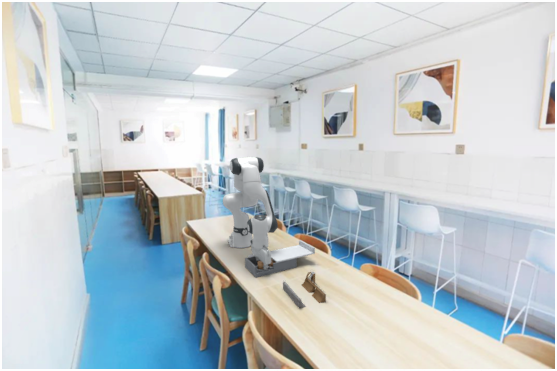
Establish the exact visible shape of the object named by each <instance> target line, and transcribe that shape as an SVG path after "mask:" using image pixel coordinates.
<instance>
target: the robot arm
mask: <svg viewBox="0 0 557 371" xmlns="http://www.w3.org/2000/svg"><path fill="white" fill-rule="evenodd" d="M264 167H265V164H264V160H263V159H262V158H261V157H258V156H256V157H253V156H247V157H238V158H237V157H235V158H232V159H231V160H230V162H229V170H230V172H231V174H233V175H234V177H233V179H234V180H233V181H234V182H233V186H234V189H236V190H238V191H239V192H231V193H227V194H225V195H224V196H223V198H222V204H223V206H224V207H225V209H227V210H228V211H230V214H231V215H232V218H233V230H232V232H231V233H230V235H229V236H228V237H229V238H228V239H227V241H228V242H229V243H228V242H227V243H228V245H229V247H230V248H236V249H237V248H238V249H239V248H240V249H241V248H242V249H243V248H249V247H251V250H250V251H251V254H254V255H255V258H256V263H257V264H258V261H260V260H261V261H262V262H263V264H264V266H263V269H264V270H266V269H267V265H268V264H271V253H270V251H271V250H269V248H268V247H269V235H268V234H270V233H271V234H273V233H275V231H277V230H278V228H279V226H278V220H277V218H276V215H275V211H274V208H273V204H272V201H271V197H270V195H269V192H268V191H267V190H266V189H265V188H264V187H263V184H262V179H261V173H262V172H263V171H264ZM259 201H260V202H262V203H263V206H264V210H265V213H266V215H264V214H256V215H254V216H253V217H251V218H250V215H249V214H248V213H247V212H245V211H242V209H241V208H250V207H251V208H252V207H254V206H256V205H257V204H258V203H259Z"/></svg>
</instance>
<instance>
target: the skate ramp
mask: <svg viewBox="0 0 557 371" xmlns="http://www.w3.org/2000/svg"><path fill="white" fill-rule="evenodd" d="M301 286H302V288H303V289H304V290H305V291H307V293H309V294H311V293H312V294H311V297H312V298H313V299H314V300H315V301H316V302H317V303H318V304H321V303H326V301H327V298H326V297H327V294H326V291H324V290H323V288H320V287H319V286H318V285H317V284H316V272H315V270H313V269H312V271H309V272H307V274H306V277H305V279H304V282H302V284H301ZM282 290H284V292H285V293H286V294H287V295H288V297H289V298H290V299H291V300H292V302H293V301H294V302H293V303H294V304H295V306H296V307H297V308H298V307H299V308H298V309H301V308H306V307H307V306H306V304H305V303H304V302H303V300H302V298H300V297H299V296H298V294H297V293H296V292H295V291H294V290H293V289H292V288H291V287H290V285H288V283H287V282H286V281H285V279H284V280H283V281H282ZM302 302H303V303H304V304H303V303H302Z"/></svg>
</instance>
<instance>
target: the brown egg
mask: <svg viewBox="0 0 557 371" xmlns="http://www.w3.org/2000/svg"><path fill="white" fill-rule="evenodd" d="M263 266H264V264H263V262H262V261H258V269H261V270H262V269H263Z"/></svg>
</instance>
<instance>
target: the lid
mask: <svg viewBox="0 0 557 371" xmlns="http://www.w3.org/2000/svg"><path fill="white" fill-rule="evenodd" d="M315 248H316V247H314V246H313V245H311V244H308V243H306V242H305V241H303V240H301V239H300V240H299V239H298V244H296V245H292V246H287V247H281V248H279V249H273V250H270V253H271V259H273V260H274V261H275V262H276V263H278V262H282V261H286V260H291V259H295V258H296V259H298V258H299V259H300V258H303V257H308V256H312V255H315V253H316V252H315V251H316V249H315Z"/></svg>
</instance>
